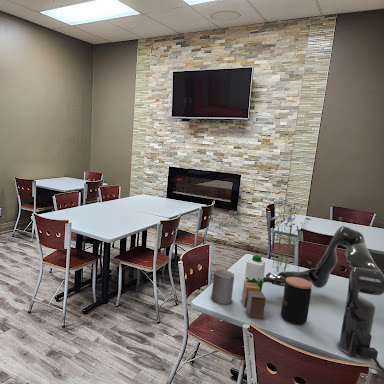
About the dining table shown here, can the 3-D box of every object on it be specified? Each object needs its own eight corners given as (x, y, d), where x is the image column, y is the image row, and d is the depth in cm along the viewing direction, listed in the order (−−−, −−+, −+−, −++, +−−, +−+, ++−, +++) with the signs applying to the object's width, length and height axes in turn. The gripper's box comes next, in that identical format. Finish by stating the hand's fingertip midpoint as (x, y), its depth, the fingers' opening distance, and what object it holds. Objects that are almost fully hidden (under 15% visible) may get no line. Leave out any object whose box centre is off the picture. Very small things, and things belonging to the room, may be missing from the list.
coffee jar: (284, 310, 159) (289, 274, 156) (309, 319, 153) (314, 281, 150) (277, 319, 151) (282, 281, 148) (303, 328, 144) (309, 289, 141)
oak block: (257, 308, 160) (259, 288, 159) (244, 306, 161) (246, 287, 159) (254, 302, 166) (256, 283, 164) (241, 300, 167) (243, 281, 165)
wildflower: (307, 280, 198) (318, 205, 191) (266, 274, 202) (276, 201, 195) (296, 266, 220) (306, 199, 213) (259, 262, 224) (268, 195, 217)
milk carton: (262, 293, 176) (267, 257, 173) (258, 300, 168) (263, 262, 165) (245, 289, 181) (249, 253, 178) (241, 295, 173) (245, 257, 170)
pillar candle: (207, 295, 170) (210, 267, 167) (224, 294, 173) (227, 266, 170) (218, 305, 161) (221, 275, 158) (235, 303, 164) (239, 274, 161)
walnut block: (263, 319, 150) (265, 298, 149) (249, 317, 151) (251, 296, 149) (259, 312, 156) (262, 292, 155) (246, 310, 157) (248, 290, 155)
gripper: (282, 267, 184) (254, 268, 180) (300, 277, 171) (270, 278, 167) (281, 280, 185) (253, 281, 181) (298, 291, 172) (268, 292, 168)
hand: (261, 279), depth 174 cm, fingers closed
